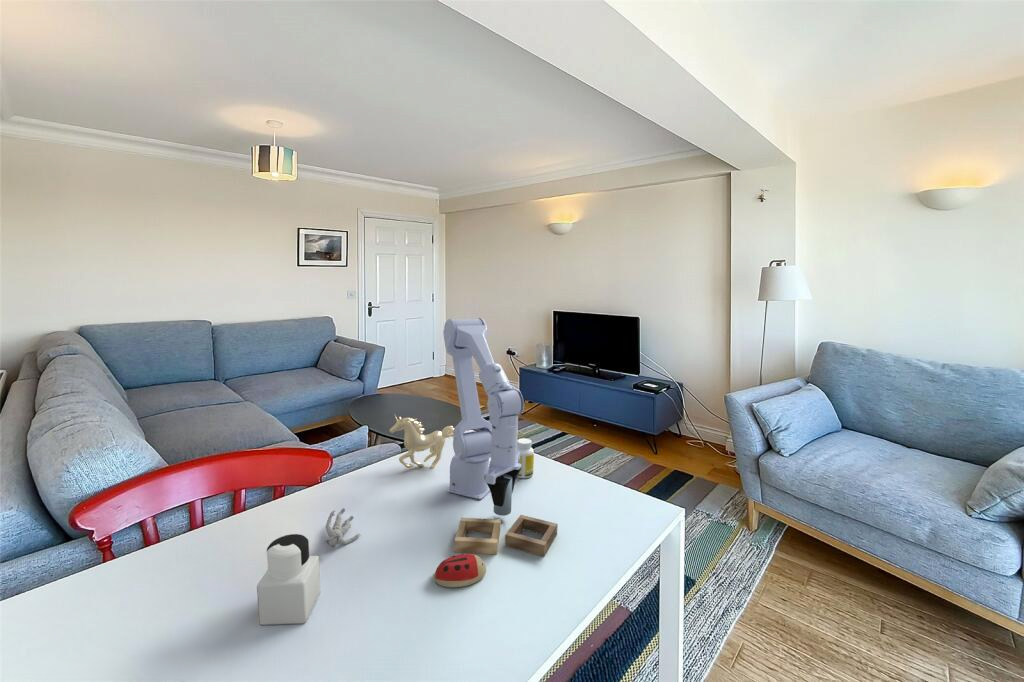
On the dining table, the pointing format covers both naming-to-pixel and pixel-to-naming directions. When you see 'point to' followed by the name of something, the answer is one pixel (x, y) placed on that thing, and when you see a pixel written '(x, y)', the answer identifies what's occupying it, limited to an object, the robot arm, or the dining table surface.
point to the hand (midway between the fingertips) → (502, 500)
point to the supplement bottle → (525, 458)
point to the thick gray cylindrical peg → (508, 500)
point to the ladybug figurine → (460, 570)
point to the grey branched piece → (338, 530)
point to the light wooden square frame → (477, 544)
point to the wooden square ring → (527, 543)
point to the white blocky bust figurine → (288, 582)
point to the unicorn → (421, 440)
